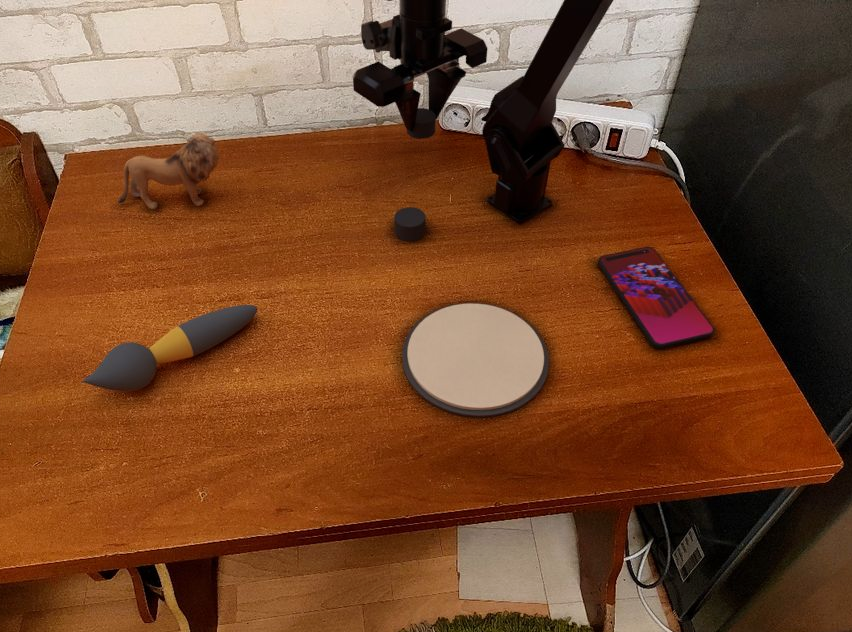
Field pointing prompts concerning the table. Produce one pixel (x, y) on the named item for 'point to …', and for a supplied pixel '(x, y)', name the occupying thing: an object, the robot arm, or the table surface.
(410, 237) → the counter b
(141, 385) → the paintbrush
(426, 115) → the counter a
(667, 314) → the smartphone
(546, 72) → the robot arm
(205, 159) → the lion figurine
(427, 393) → the face circle
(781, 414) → the table surface
